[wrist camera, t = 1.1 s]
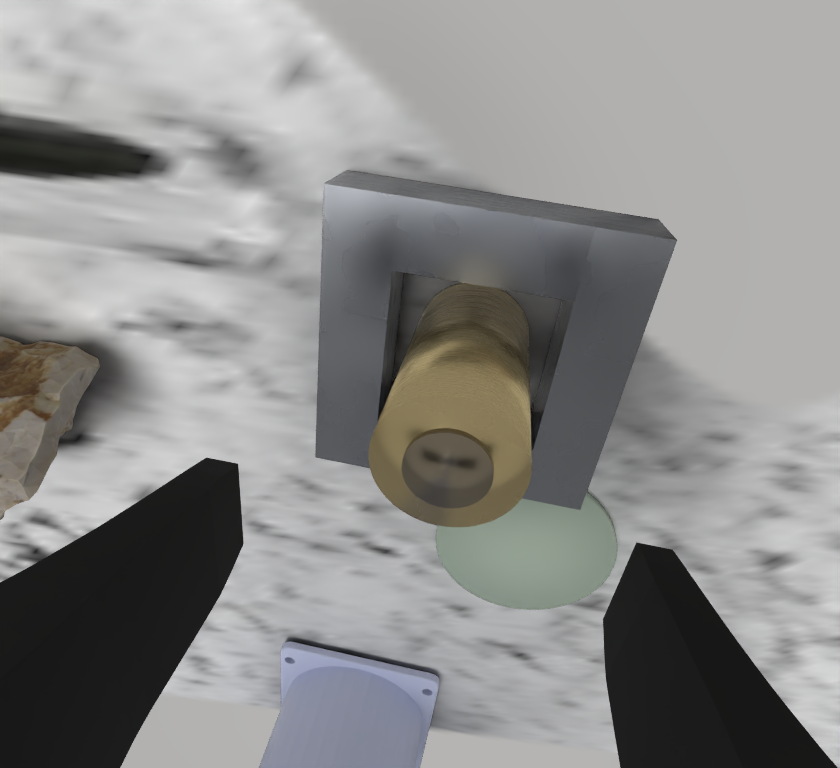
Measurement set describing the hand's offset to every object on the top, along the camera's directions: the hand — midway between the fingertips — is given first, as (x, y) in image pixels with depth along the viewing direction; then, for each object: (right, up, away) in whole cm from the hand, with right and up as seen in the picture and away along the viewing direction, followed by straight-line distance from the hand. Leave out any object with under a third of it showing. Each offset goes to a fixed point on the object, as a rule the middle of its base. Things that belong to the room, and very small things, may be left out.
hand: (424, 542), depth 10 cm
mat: (+4, -3, +12) cm, 13 cm away
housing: (+2, +5, +8) cm, 9 cm away
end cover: (+2, +5, +8) cm, 9 cm away
